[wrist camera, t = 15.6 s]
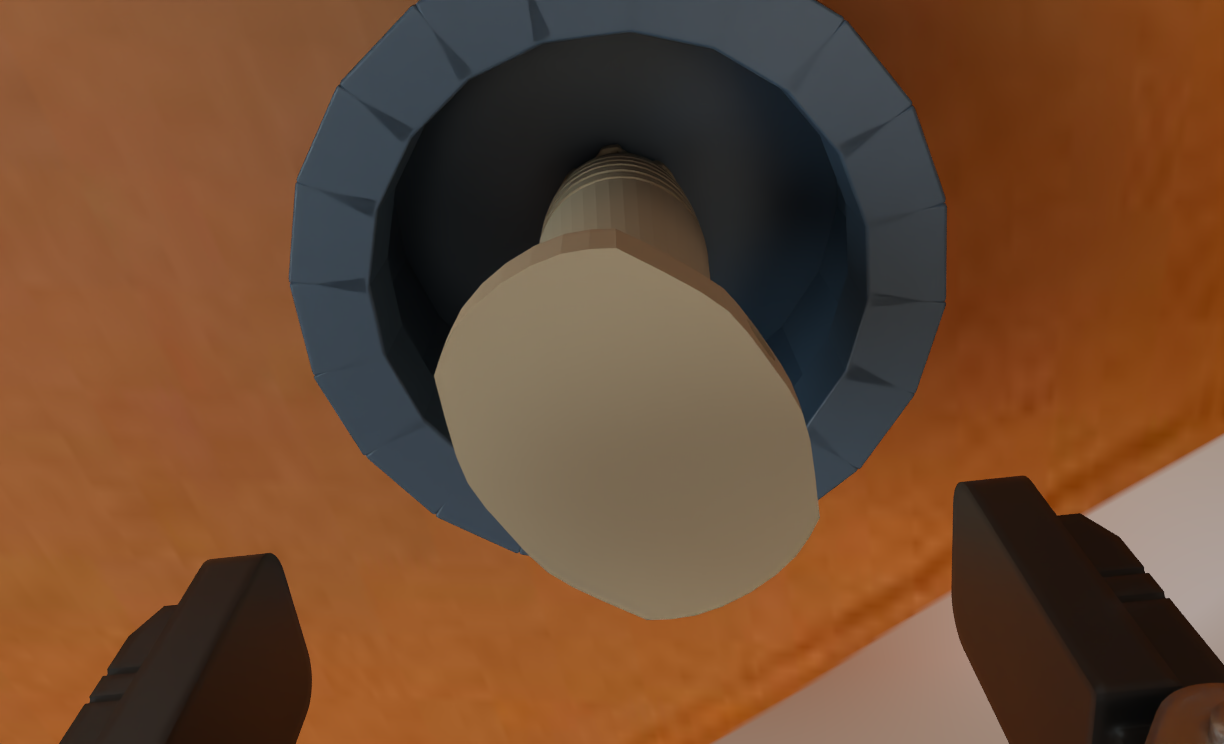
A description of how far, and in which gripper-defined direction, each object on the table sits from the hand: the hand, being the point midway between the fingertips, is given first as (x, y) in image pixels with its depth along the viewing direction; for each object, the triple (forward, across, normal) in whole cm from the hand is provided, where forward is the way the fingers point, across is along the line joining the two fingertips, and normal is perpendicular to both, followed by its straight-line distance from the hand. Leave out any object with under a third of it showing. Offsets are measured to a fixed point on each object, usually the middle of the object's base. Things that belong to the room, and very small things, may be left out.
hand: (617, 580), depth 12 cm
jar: (+19, 0, 0) cm, 19 cm away
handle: (+19, 0, 0) cm, 19 cm away
